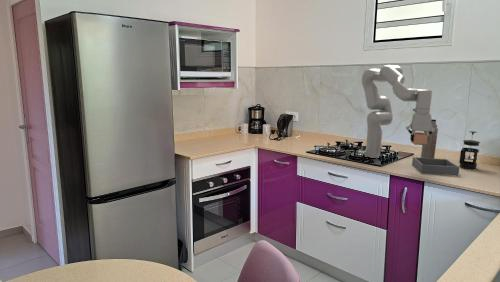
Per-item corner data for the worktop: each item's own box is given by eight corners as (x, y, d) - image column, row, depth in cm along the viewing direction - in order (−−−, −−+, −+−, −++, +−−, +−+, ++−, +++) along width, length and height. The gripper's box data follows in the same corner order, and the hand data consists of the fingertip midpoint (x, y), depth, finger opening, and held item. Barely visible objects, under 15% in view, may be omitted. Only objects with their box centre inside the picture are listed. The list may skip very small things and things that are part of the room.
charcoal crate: (421, 173, 205) (422, 164, 204) (411, 164, 225) (412, 157, 224) (458, 175, 202) (459, 167, 201) (445, 167, 221) (446, 159, 220)
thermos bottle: (436, 162, 233) (441, 120, 228) (426, 162, 231) (431, 120, 226) (427, 159, 241) (432, 118, 236) (417, 159, 239) (422, 118, 234)
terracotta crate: (414, 144, 203) (415, 134, 202) (410, 141, 212) (411, 132, 211) (426, 145, 202) (428, 135, 201) (422, 142, 211) (423, 132, 210)
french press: (468, 165, 227) (473, 130, 223) (481, 169, 218) (486, 132, 214) (453, 166, 224) (458, 130, 220) (465, 170, 215) (471, 132, 211)
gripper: (407, 111, 202) (404, 141, 205) (440, 112, 198) (436, 143, 202) (405, 109, 209) (401, 139, 212) (436, 111, 206) (433, 141, 209)
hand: (418, 141), depth 207 cm, fingers closed on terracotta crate, 6 cm apart
